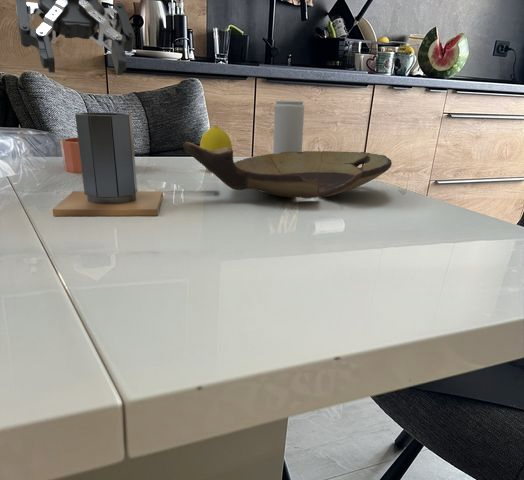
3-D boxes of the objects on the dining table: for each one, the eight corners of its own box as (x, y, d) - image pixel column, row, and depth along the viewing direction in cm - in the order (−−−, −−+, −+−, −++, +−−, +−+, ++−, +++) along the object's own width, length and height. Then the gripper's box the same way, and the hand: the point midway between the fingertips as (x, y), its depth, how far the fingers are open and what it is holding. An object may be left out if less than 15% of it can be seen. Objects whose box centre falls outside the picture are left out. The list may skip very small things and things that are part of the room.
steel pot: (82, 204, 66) (71, 114, 62) (91, 194, 72) (81, 112, 67) (134, 204, 67) (127, 115, 63) (139, 195, 72) (133, 113, 68)
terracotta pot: (58, 178, 88) (53, 142, 85) (72, 169, 97) (68, 136, 95) (127, 179, 89) (124, 143, 87) (134, 169, 99) (131, 137, 96)
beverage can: (269, 178, 92) (271, 100, 87) (275, 174, 97) (278, 100, 91) (297, 180, 91) (301, 101, 86) (302, 176, 96) (306, 101, 90)
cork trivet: (53, 216, 64) (52, 209, 63) (73, 197, 74) (73, 191, 74) (157, 215, 65) (156, 209, 65) (163, 197, 76) (162, 191, 75)
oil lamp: (417, 209, 71) (426, 147, 68) (185, 211, 68) (182, 145, 64) (365, 182, 91) (370, 132, 88) (184, 182, 87) (182, 130, 84)
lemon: (196, 173, 96) (195, 124, 92) (226, 172, 98) (226, 124, 94) (205, 178, 91) (203, 127, 88) (236, 177, 93) (236, 126, 90)
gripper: (2, -60, 68) (25, 40, 64) (117, -47, 74) (146, 46, 69) (7, -5, 74) (29, 90, 70) (112, 4, 80) (138, 92, 76)
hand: (87, 68), depth 70 cm, fingers open, 8 cm apart
